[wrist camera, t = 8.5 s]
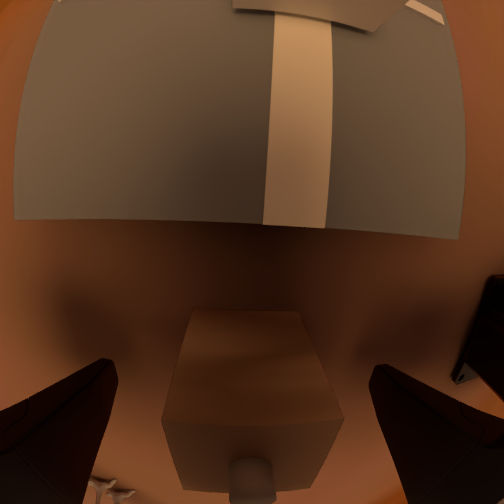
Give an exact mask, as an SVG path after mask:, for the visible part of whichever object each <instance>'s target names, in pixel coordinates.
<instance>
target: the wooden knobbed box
mask: <svg viewBox="0 0 504 504" xmlns="http://www.w3.org/2000/svg"><path fill="white" fill-rule="evenodd" d="M343 420H344V416H343V413H342V411H341V409H340V406H339V404H338V402H337V399H336V397H335V395H334V392H333V390H332V388H331V385H330V383H329V381H328V378H327V376H326V374H325V371H324V369H323V367H322V365H321V362H320V360H319V358H318V355H317V353H316V351H315V349H314V346H313V344H312V342H311V340H310V337H309V335H308V333H307V331H306V328H305V326H304V324H303V322H302V319H301V317H300V315H299V313H298V311H251V310H220V309H199V308H193V310H192V313H191V316H190V320H189V323H188V326H187V330H186V333H185V336H184V340H183V343H182V346H181V350H180V353H179V357H178V360H177V363H176V367H175V371H174V374H173V378H172V381H171V385H170V388H169V392H168V396H167V400H166V403H165V407H164V411H163V415H162V419H161V421H162V425H163V429H164V432H165V436H166V439H167V442H168V446H169V449H170V452H171V455H172V458H173V462H174V465H175V467H176V470H177V473H178V476H179V479H180V482H181V484H182V487H183V490H191V491H202V492H218V493H229V501H230V503H231V504H271V503H273V502H275V501H276V492H279V491H290V490H299V489H307V488H310V487H311V485H312V483H313V482H314V480H315V478H316V476H317V474H318V472H319V471H320V469H321V467H322V465H323V463H324V461H325V459H326V457H327V455H328V453H329V451H330V449H331V447H332V445H333V443H334V441H335V438H336V436H337V434H338V432H339V430H340V427H341V425H342V423H343Z"/></svg>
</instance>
